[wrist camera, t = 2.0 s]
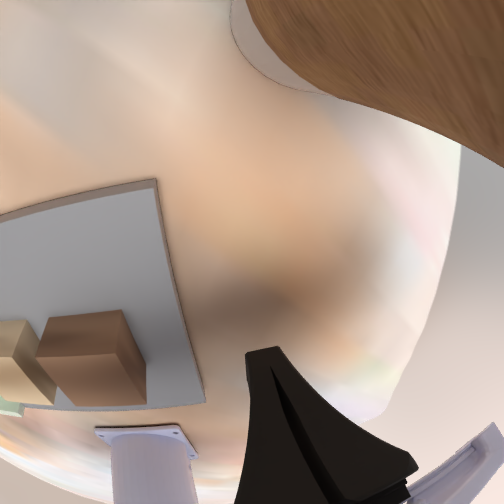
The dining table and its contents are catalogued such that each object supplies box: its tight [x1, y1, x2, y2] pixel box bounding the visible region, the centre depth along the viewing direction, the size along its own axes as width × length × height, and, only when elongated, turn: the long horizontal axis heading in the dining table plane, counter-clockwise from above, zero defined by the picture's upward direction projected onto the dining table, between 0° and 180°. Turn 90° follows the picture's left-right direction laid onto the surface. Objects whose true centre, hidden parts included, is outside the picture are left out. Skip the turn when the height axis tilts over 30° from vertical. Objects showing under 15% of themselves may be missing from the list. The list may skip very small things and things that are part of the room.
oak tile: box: [0, 319, 57, 406], centre depth 10 cm, size 4×4×2 cm
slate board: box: [0, 179, 206, 411], centre depth 12 cm, size 14×15×1 cm
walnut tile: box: [35, 309, 147, 407], centre depth 11 cm, size 4×4×2 cm
